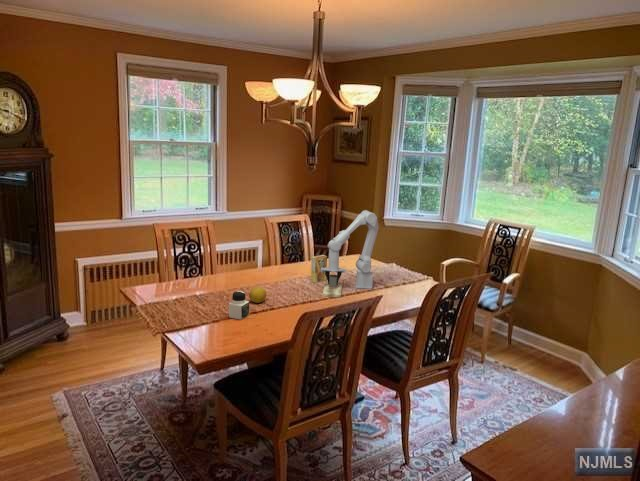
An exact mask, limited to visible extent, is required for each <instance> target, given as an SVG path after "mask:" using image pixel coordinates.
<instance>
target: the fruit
mask: <svg viewBox="0 0 640 481" xmlns="http://www.w3.org/2000/svg"><path fill="white" fill-rule="evenodd" d="M248 294H249V295H248V298H249V299H250V301H251V302H253V303H256V304H260V303H262V302H264V301H265V299H266V298H267V291H266V289H265V288H263V287H262V286H254V287H253V288H252V289H250V291H249V293H248Z"/></svg>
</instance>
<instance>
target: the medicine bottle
mask: <svg viewBox="0 0 640 481" xmlns="http://www.w3.org/2000/svg"><path fill="white" fill-rule="evenodd" d="M248 316H250V301H249V300H246V293H245V292H244V291H240V290H238V291H234V292H233V293H232V301H231V302H229V303H228V317H229V318H230V319H234V320H235V319H236V320H240V321H242V320H244V319H245V318H247V317H248Z"/></svg>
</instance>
